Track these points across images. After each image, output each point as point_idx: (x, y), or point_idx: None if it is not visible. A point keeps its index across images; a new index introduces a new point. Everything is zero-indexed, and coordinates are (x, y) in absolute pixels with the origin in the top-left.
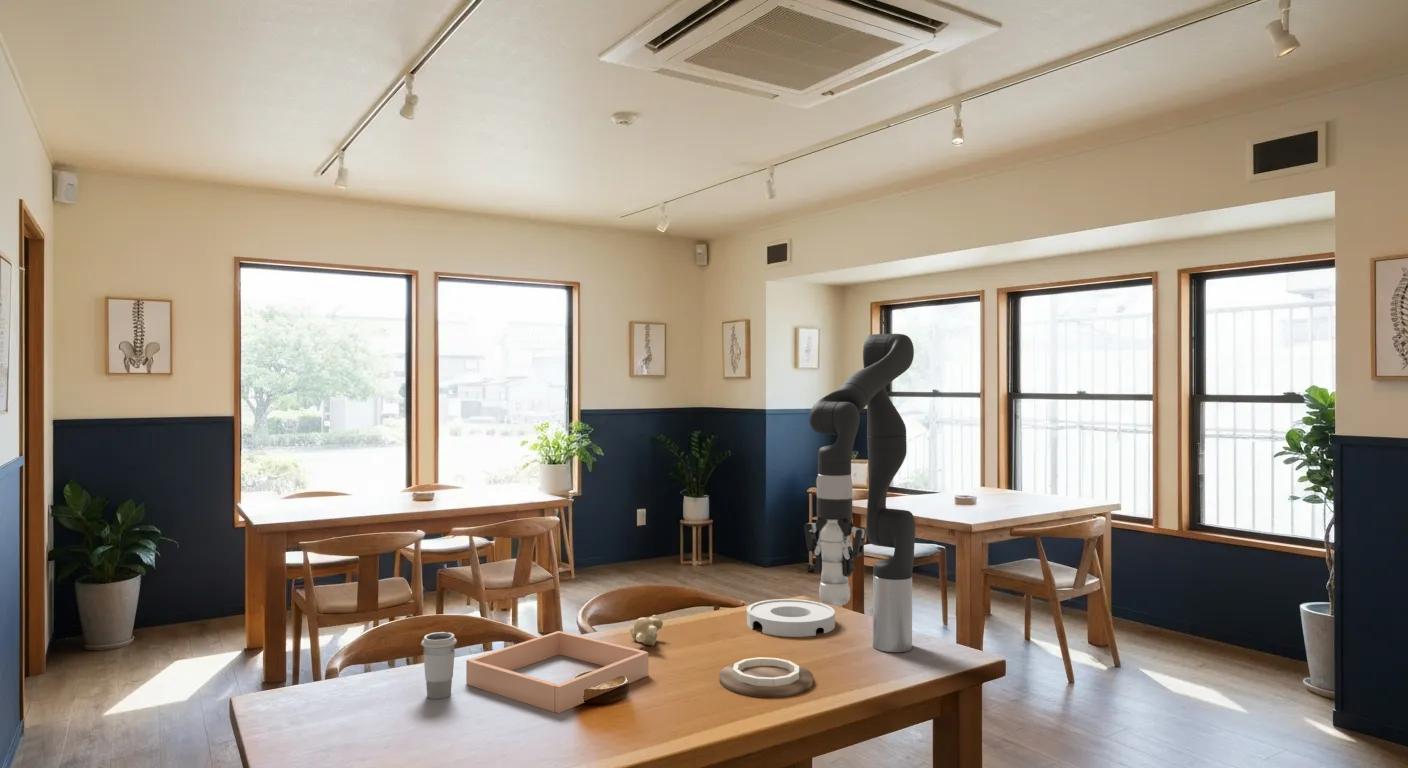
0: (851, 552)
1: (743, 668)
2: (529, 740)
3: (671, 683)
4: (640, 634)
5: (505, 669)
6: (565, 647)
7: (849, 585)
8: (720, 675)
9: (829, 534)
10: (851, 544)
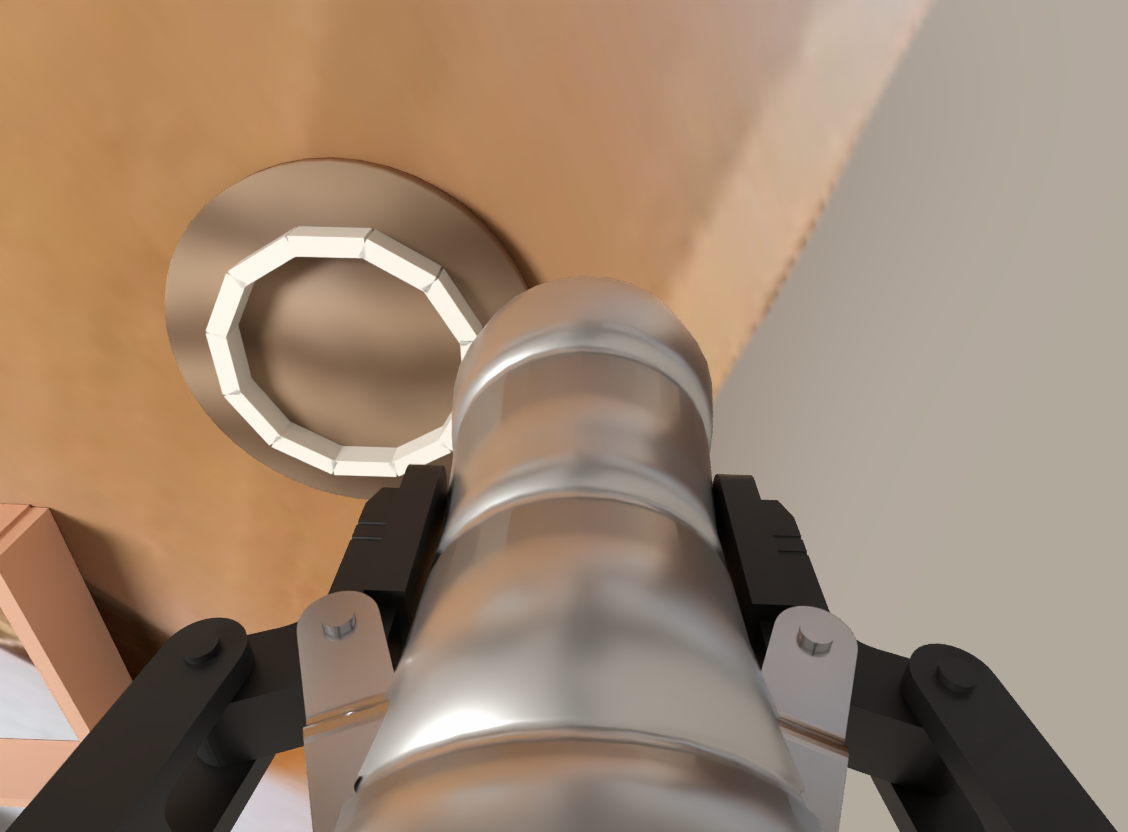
0: (855, 766)
1: (242, 347)
2: (255, 828)
3: (161, 522)
4: None
5: None
6: None
7: (707, 401)
8: (242, 446)
9: None
10: (842, 761)
